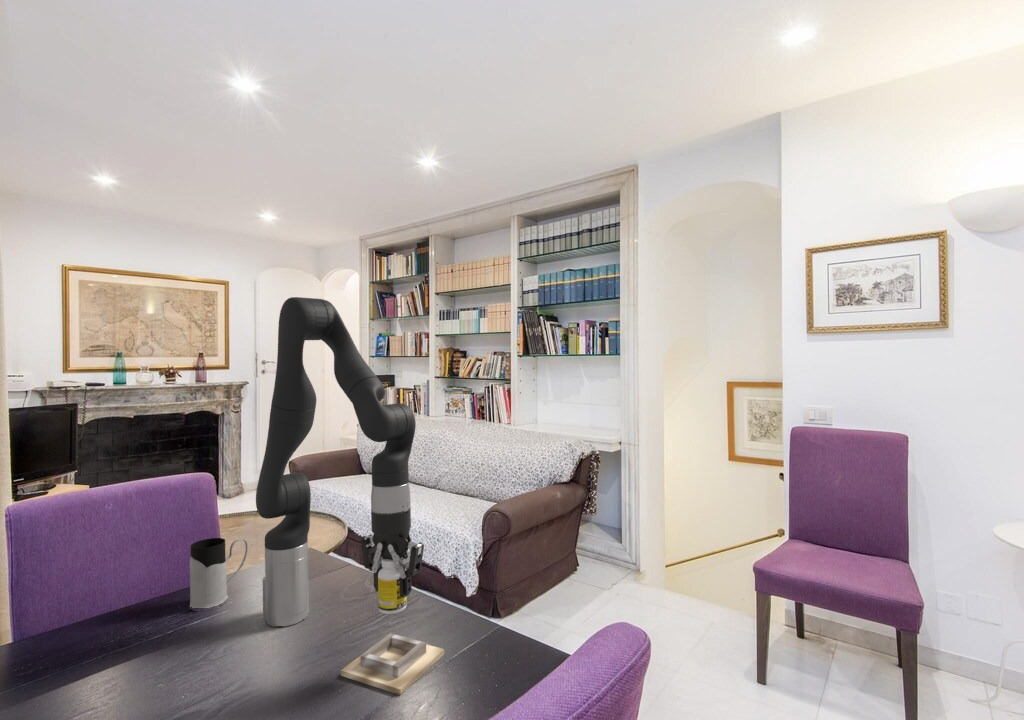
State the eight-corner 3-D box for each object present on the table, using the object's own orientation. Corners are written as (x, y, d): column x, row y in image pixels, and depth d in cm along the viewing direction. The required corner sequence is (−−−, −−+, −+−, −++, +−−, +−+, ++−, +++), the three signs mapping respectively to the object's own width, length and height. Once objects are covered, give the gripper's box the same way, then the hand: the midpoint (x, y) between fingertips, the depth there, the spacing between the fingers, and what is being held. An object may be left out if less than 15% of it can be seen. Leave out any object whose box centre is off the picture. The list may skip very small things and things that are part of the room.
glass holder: (181, 605, 127) (180, 544, 127) (239, 584, 138) (238, 529, 139) (198, 615, 122) (197, 551, 122) (256, 592, 133) (256, 534, 134)
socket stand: (340, 675, 97) (340, 659, 97) (388, 639, 109) (388, 625, 109) (400, 695, 91) (400, 678, 91) (444, 654, 103) (443, 639, 103)
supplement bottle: (400, 616, 97) (398, 564, 97) (373, 613, 98) (372, 562, 98) (411, 602, 102) (410, 553, 102) (386, 601, 103) (384, 552, 103)
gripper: (349, 507, 100) (350, 594, 100) (409, 515, 94) (410, 608, 94) (375, 498, 107) (376, 579, 107) (432, 505, 101) (434, 591, 100)
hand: (392, 592), depth 100 cm, fingers closed on supplement bottle, 5 cm apart
